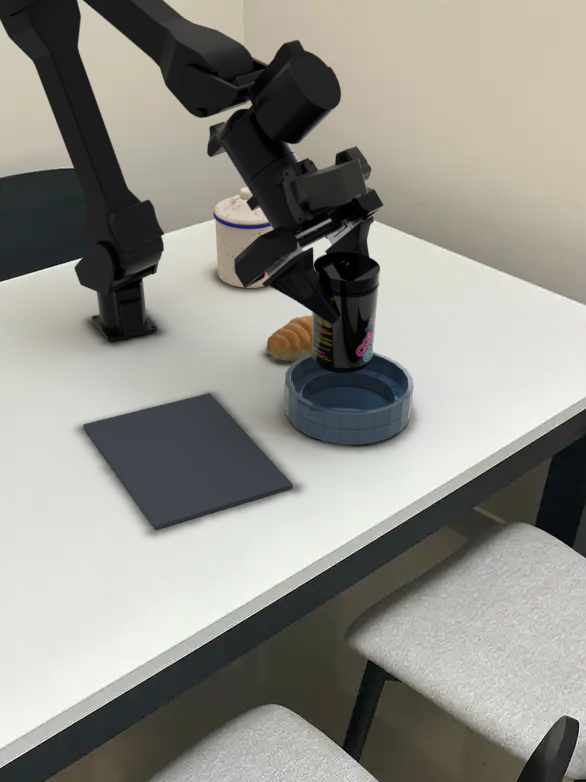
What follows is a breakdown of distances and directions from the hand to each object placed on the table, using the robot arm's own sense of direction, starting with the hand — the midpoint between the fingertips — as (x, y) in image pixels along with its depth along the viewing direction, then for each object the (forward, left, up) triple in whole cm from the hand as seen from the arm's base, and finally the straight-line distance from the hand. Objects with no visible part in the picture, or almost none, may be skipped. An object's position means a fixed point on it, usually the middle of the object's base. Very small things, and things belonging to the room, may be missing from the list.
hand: (355, 309), depth 99 cm
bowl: (-2, +1, -13) cm, 13 cm away
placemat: (-2, -19, -13) cm, 23 cm away
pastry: (-17, +4, -13) cm, 22 cm away
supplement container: (-1, -1, -6) cm, 7 cm away
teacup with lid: (-40, +8, -13) cm, 43 cm away
